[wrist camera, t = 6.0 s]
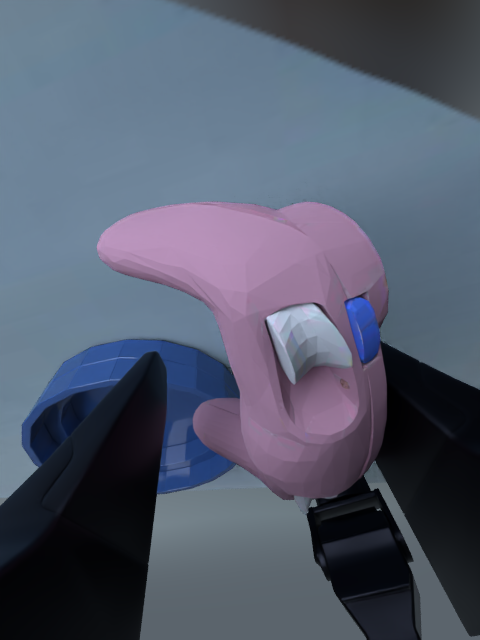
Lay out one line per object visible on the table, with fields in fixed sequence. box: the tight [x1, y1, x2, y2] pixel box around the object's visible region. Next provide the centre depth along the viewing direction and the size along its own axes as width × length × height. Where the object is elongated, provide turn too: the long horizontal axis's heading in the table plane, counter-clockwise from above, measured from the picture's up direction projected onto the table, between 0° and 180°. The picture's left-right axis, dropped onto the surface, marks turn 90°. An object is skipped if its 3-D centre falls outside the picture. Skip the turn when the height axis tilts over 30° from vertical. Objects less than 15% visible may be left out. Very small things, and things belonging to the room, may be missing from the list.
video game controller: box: [97, 202, 389, 515], centre depth 8 cm, size 10×5×7 cm, turn 11°
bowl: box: [22, 340, 240, 494], centre depth 24 cm, size 18×18×4 cm
